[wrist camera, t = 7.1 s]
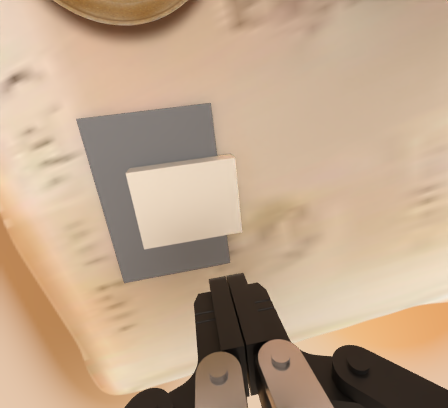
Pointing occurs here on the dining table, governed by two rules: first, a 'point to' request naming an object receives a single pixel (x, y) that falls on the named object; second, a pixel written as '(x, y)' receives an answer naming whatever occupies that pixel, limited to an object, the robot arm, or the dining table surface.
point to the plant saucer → (122, 10)
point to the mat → (144, 156)
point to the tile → (185, 200)
